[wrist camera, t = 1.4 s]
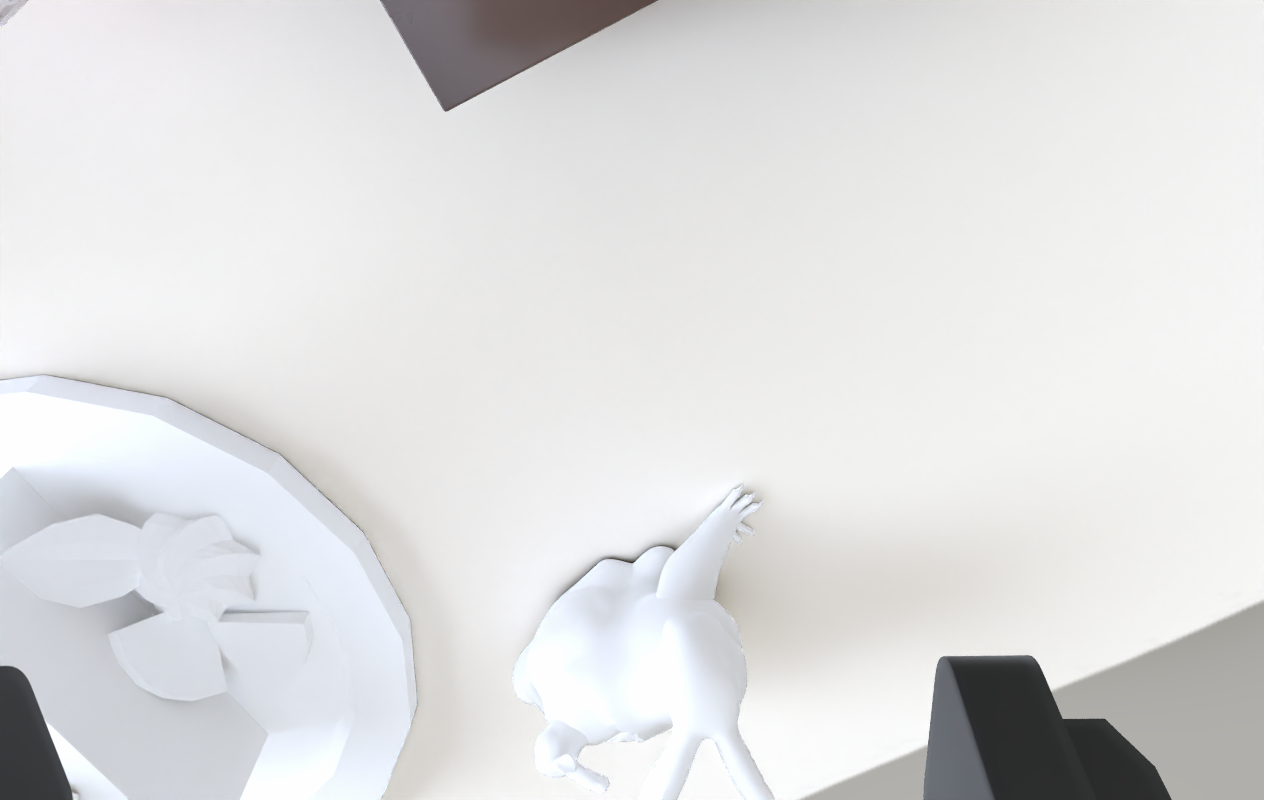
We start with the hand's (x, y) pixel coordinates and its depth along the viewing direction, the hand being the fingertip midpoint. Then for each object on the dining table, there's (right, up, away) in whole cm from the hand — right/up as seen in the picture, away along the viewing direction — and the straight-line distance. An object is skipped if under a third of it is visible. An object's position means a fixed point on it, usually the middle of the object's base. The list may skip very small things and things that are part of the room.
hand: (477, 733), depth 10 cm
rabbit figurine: (+3, -5, +34) cm, 34 cm away
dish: (-20, -7, +36) cm, 41 cm away
